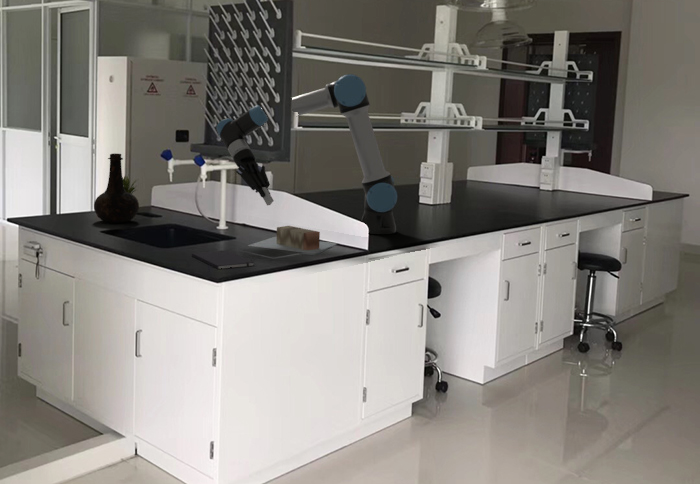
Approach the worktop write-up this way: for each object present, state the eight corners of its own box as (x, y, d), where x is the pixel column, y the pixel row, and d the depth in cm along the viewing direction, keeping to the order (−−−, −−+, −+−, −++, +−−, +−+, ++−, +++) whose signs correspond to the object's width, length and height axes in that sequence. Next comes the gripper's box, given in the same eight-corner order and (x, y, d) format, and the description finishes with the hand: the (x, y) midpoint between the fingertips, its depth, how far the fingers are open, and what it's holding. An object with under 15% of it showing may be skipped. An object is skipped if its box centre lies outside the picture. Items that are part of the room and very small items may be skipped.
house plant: (102, 207, 357) (101, 172, 354) (130, 205, 366) (129, 171, 363) (117, 211, 347) (116, 175, 344) (145, 209, 356) (145, 174, 353)
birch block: (276, 227, 283) (307, 233, 273) (288, 225, 288) (319, 231, 277) (276, 243, 284) (307, 250, 274) (288, 241, 289) (319, 248, 278)
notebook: (191, 257, 261) (218, 270, 243) (191, 253, 260) (218, 265, 243) (226, 254, 267) (254, 266, 250) (226, 250, 267) (254, 262, 250)
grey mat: (276, 237, 299) (276, 236, 299) (338, 244, 289) (338, 243, 289) (247, 247, 279) (247, 245, 279) (313, 255, 269) (313, 253, 269)
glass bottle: (111, 226, 309) (110, 156, 304) (85, 221, 320) (83, 152, 315) (148, 222, 324) (147, 154, 318) (121, 216, 334) (120, 151, 329)
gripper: (250, 160, 303) (278, 207, 295) (223, 161, 294) (252, 210, 286) (259, 147, 299) (288, 195, 291) (232, 148, 289) (262, 198, 281)
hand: (270, 203), depth 288 cm, fingers closed
